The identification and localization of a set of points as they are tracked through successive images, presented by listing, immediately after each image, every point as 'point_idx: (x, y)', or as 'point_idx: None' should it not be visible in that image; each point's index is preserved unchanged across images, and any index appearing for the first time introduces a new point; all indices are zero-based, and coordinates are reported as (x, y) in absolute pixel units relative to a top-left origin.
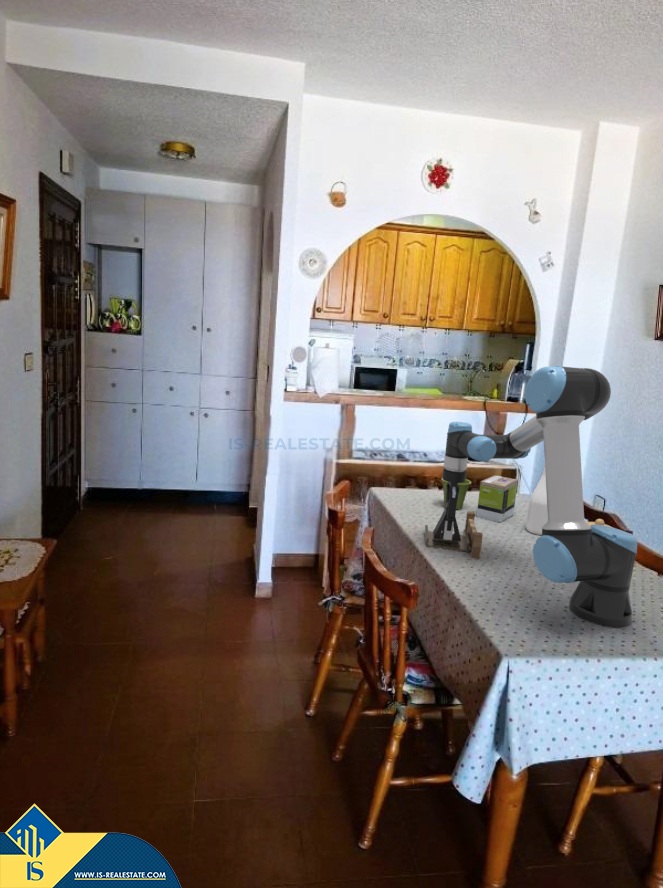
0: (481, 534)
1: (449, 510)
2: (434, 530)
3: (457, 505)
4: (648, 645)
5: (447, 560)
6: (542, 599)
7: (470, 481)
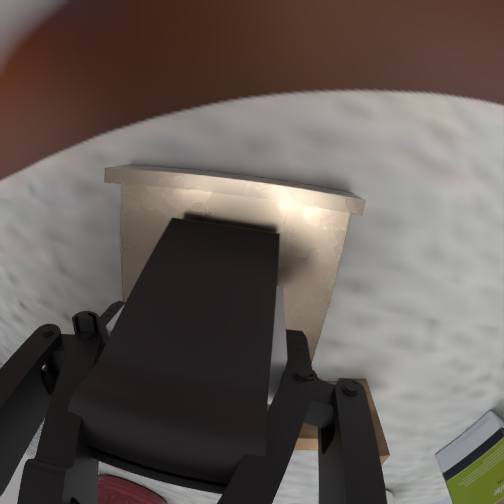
0: None
1: (3, 376)
2: (252, 239)
3: None
4: None
5: (32, 240)
6: None
7: None
